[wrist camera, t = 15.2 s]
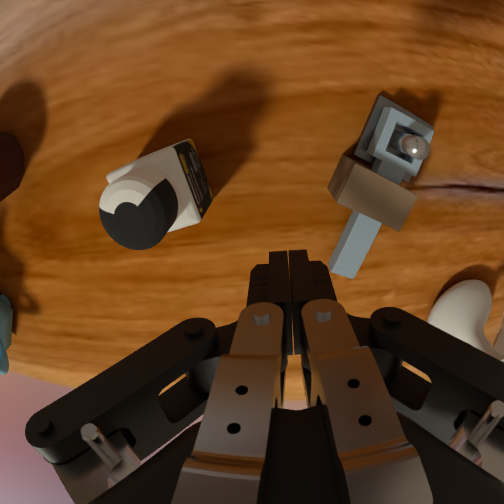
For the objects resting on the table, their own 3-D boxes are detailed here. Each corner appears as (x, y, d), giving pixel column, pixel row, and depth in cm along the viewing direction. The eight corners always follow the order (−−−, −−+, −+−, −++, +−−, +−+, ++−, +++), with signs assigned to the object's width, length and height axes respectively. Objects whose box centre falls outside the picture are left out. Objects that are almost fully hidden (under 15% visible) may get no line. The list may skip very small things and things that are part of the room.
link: (383, 106, 27) (391, 107, 25) (424, 129, 27) (434, 131, 25) (318, 259, 35) (321, 269, 33) (358, 273, 35) (362, 283, 33)
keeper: (342, 154, 30) (355, 163, 26) (398, 182, 31) (418, 195, 27) (327, 187, 32) (336, 202, 27) (383, 213, 33) (399, 231, 28)
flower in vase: (433, 275, 36) (528, 430, 14) (494, 270, 35) (590, 392, 13) (412, 348, 42) (464, 491, 20) (469, 339, 41) (531, 459, 19)
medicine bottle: (215, 198, 33) (188, 247, 23) (157, 217, 35) (112, 269, 24) (192, 136, 31) (151, 156, 20) (134, 159, 32) (75, 190, 21)
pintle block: (377, 95, 27) (403, 94, 21) (430, 126, 28) (462, 134, 22) (352, 153, 30) (371, 166, 24) (405, 180, 31) (432, 199, 25)
